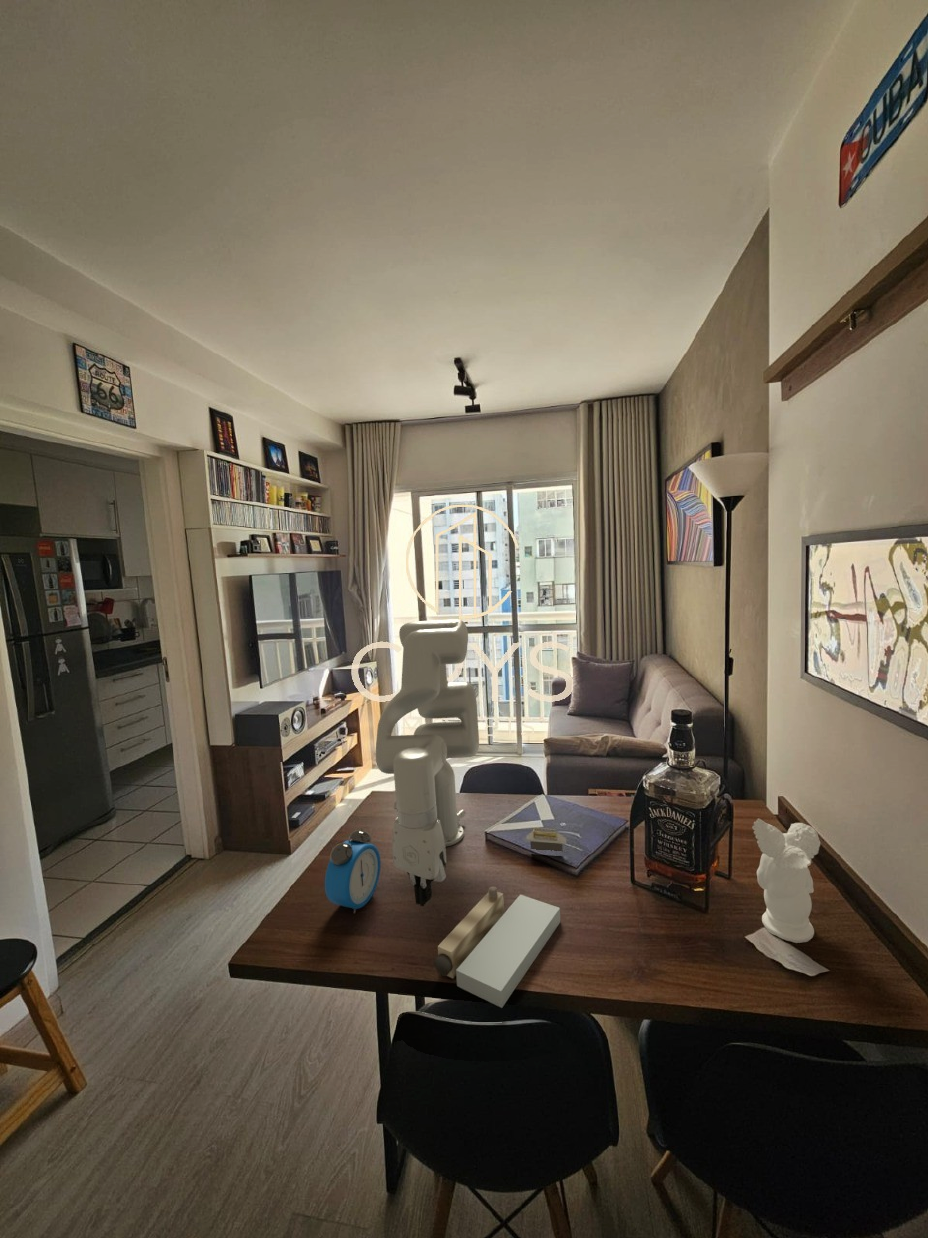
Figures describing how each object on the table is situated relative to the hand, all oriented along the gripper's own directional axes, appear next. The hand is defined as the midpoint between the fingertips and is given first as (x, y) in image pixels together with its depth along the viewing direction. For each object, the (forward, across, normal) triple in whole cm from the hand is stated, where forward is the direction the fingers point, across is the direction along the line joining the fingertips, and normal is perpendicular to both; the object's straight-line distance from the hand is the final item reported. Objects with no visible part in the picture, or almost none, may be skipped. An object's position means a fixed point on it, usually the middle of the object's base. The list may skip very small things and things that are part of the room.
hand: (423, 900), depth 102 cm
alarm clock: (+9, -21, +2) cm, 23 cm away
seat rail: (+8, +17, +5) cm, 19 cm away
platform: (+10, +10, +39) cm, 41 cm away
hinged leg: (+8, +9, +2) cm, 12 cm away
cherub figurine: (+8, +61, +33) cm, 70 cm away
